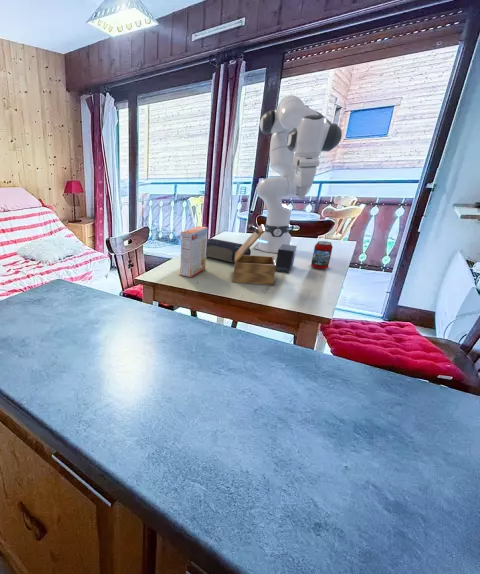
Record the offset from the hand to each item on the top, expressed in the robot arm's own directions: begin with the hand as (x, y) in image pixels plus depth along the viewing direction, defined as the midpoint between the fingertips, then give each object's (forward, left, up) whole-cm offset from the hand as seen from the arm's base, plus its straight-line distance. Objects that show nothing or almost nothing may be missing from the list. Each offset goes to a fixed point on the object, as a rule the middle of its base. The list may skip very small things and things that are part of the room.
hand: (299, 197), depth 133 cm
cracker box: (+6, -40, -34) cm, 53 cm away
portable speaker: (-17, -27, -34) cm, 47 cm away
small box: (-9, 0, -34) cm, 35 cm away
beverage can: (-14, +15, -34) cm, 40 cm away
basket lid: (+8, -17, -18) cm, 26 cm away
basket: (+8, -14, -34) cm, 38 cm away
